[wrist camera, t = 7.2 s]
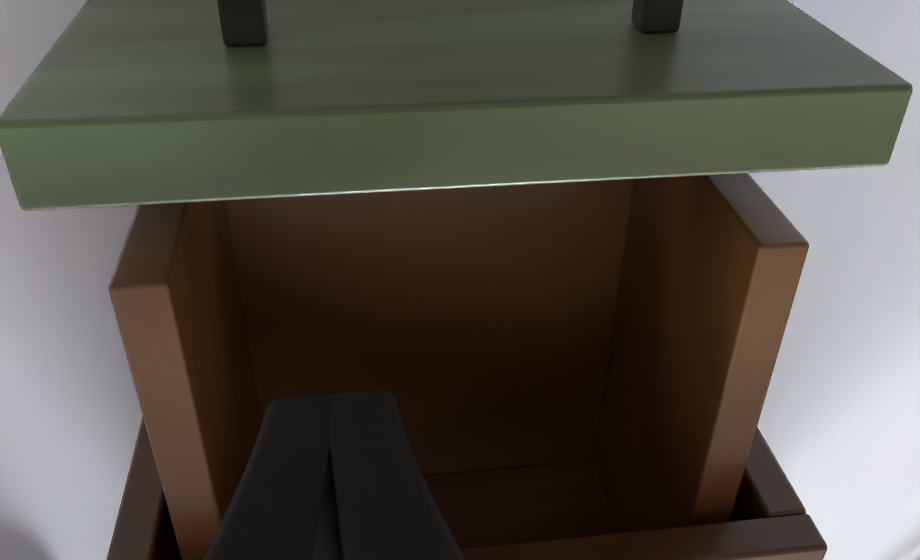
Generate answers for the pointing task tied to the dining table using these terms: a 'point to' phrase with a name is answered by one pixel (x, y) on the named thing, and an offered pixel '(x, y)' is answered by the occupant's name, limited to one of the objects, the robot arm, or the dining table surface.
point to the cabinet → (597, 556)
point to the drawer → (455, 232)
